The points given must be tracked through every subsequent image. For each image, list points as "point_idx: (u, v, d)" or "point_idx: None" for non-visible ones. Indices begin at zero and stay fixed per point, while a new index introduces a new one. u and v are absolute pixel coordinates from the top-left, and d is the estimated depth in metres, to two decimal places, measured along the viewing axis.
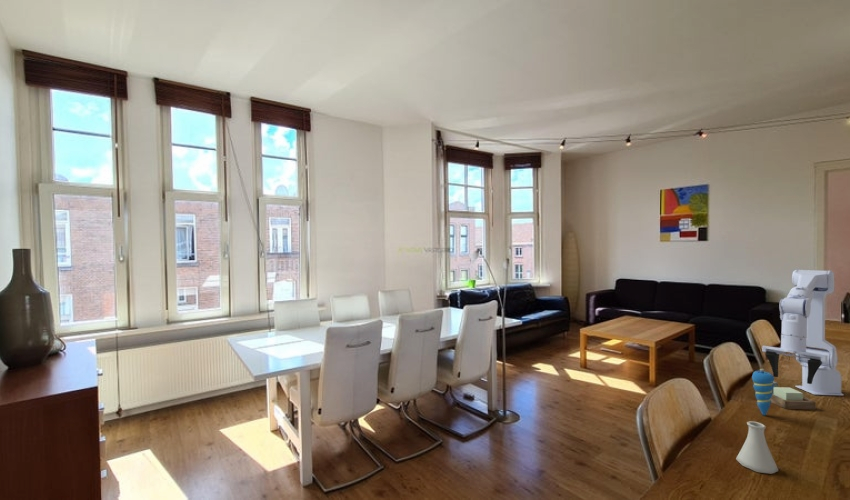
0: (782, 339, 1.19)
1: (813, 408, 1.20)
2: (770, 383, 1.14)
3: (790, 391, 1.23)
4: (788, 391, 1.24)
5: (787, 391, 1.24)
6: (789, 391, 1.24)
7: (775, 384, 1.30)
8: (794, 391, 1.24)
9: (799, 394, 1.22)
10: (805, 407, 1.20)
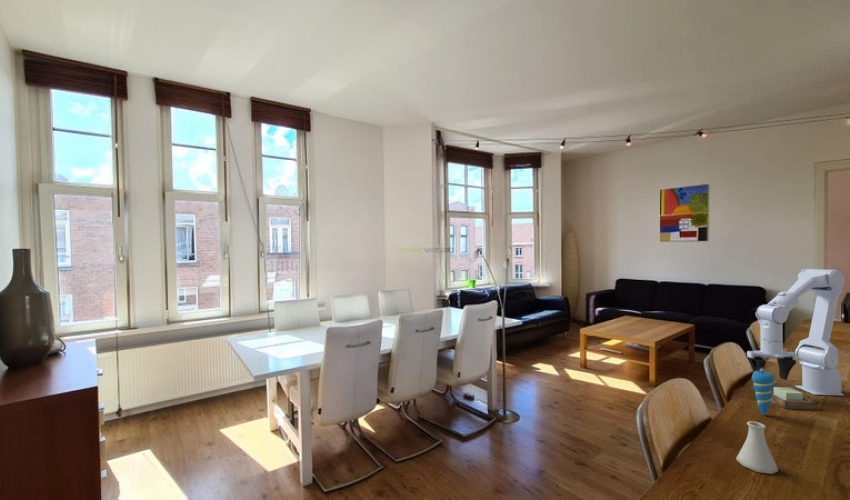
0: (768, 345, 1.30)
1: (813, 408, 1.20)
2: (770, 383, 1.14)
3: (790, 391, 1.23)
4: (788, 391, 1.24)
5: (787, 391, 1.24)
6: (789, 391, 1.24)
7: (775, 384, 1.30)
8: (794, 391, 1.24)
9: (799, 394, 1.22)
10: (805, 407, 1.20)
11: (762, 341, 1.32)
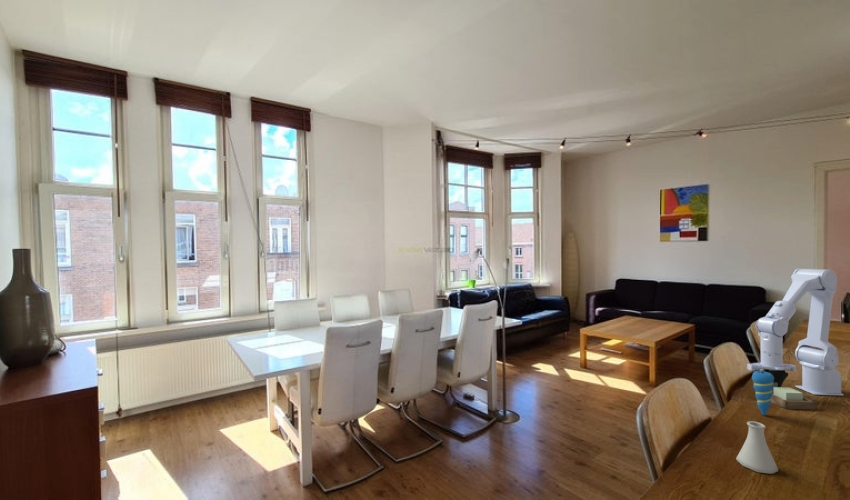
0: (768, 357, 1.30)
1: (813, 408, 1.20)
2: (770, 383, 1.14)
3: (790, 391, 1.24)
4: (788, 391, 1.24)
5: (787, 391, 1.24)
6: (789, 391, 1.24)
7: (775, 384, 1.30)
8: (794, 391, 1.24)
9: (799, 394, 1.22)
10: (805, 407, 1.20)
11: (762, 353, 1.32)
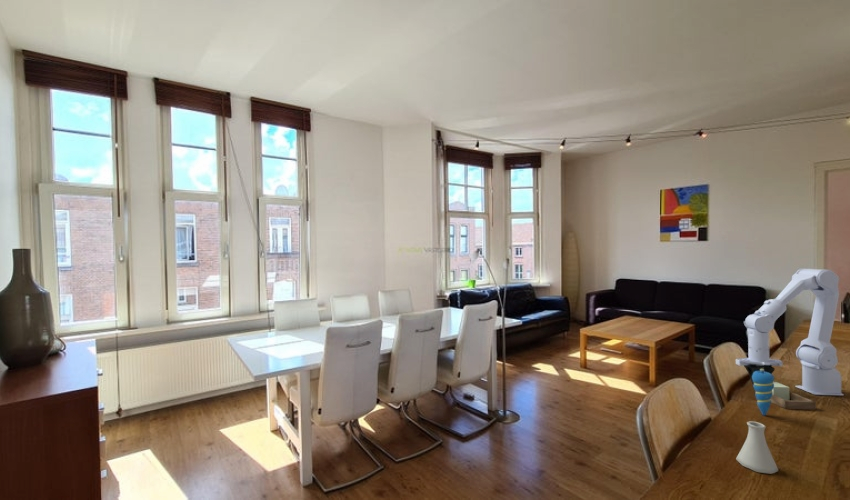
0: (755, 353, 1.36)
1: (813, 408, 1.20)
2: (770, 383, 1.14)
3: (777, 386, 1.29)
4: (775, 385, 1.29)
5: (775, 385, 1.29)
6: (776, 385, 1.29)
7: None
8: (781, 385, 1.29)
9: (786, 388, 1.27)
10: (805, 407, 1.20)
11: (750, 349, 1.37)
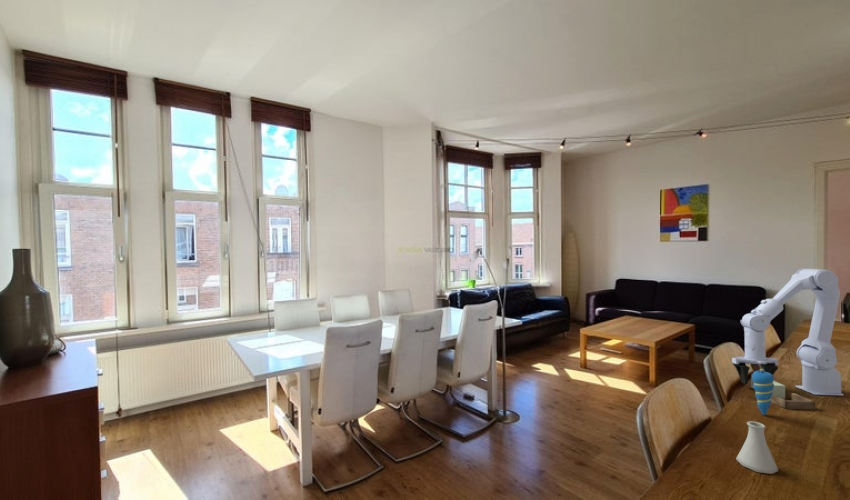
0: (751, 351, 1.37)
1: (813, 408, 1.20)
2: (770, 383, 1.14)
3: None
4: None
5: None
6: None
7: None
8: (777, 384, 1.30)
9: (781, 386, 1.29)
10: (805, 407, 1.20)
11: (746, 348, 1.39)
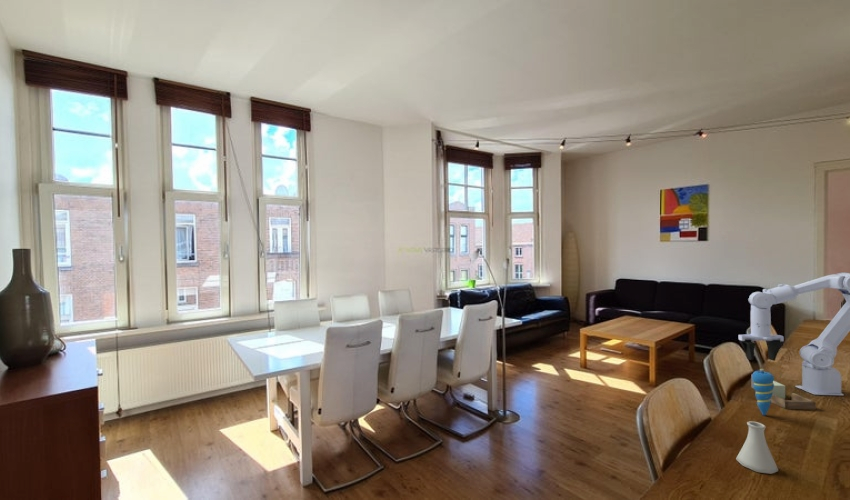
0: (757, 328, 1.41)
1: (813, 408, 1.20)
2: (770, 383, 1.14)
3: None
4: None
5: None
6: None
7: None
8: (777, 384, 1.30)
9: (781, 386, 1.29)
10: (805, 407, 1.20)
11: (752, 325, 1.43)
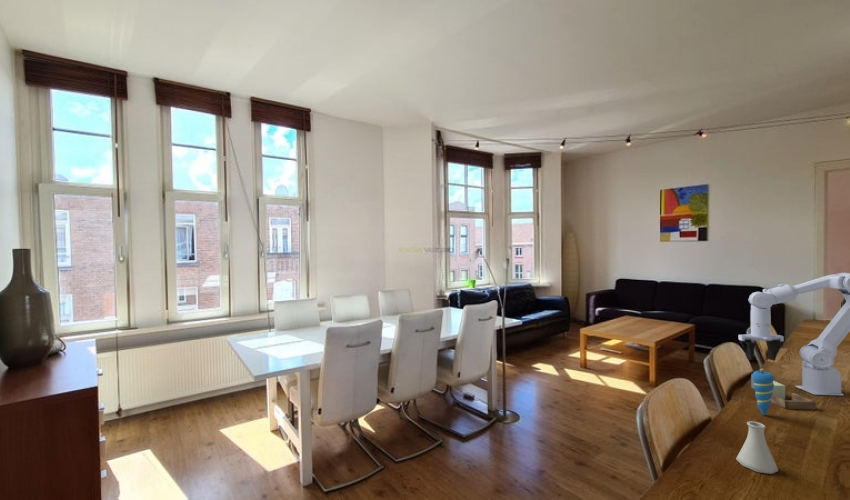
0: (757, 328, 1.41)
1: (813, 408, 1.20)
2: (770, 383, 1.14)
3: None
4: None
5: None
6: None
7: None
8: (777, 384, 1.30)
9: (781, 386, 1.29)
10: (805, 407, 1.20)
11: (752, 325, 1.43)
